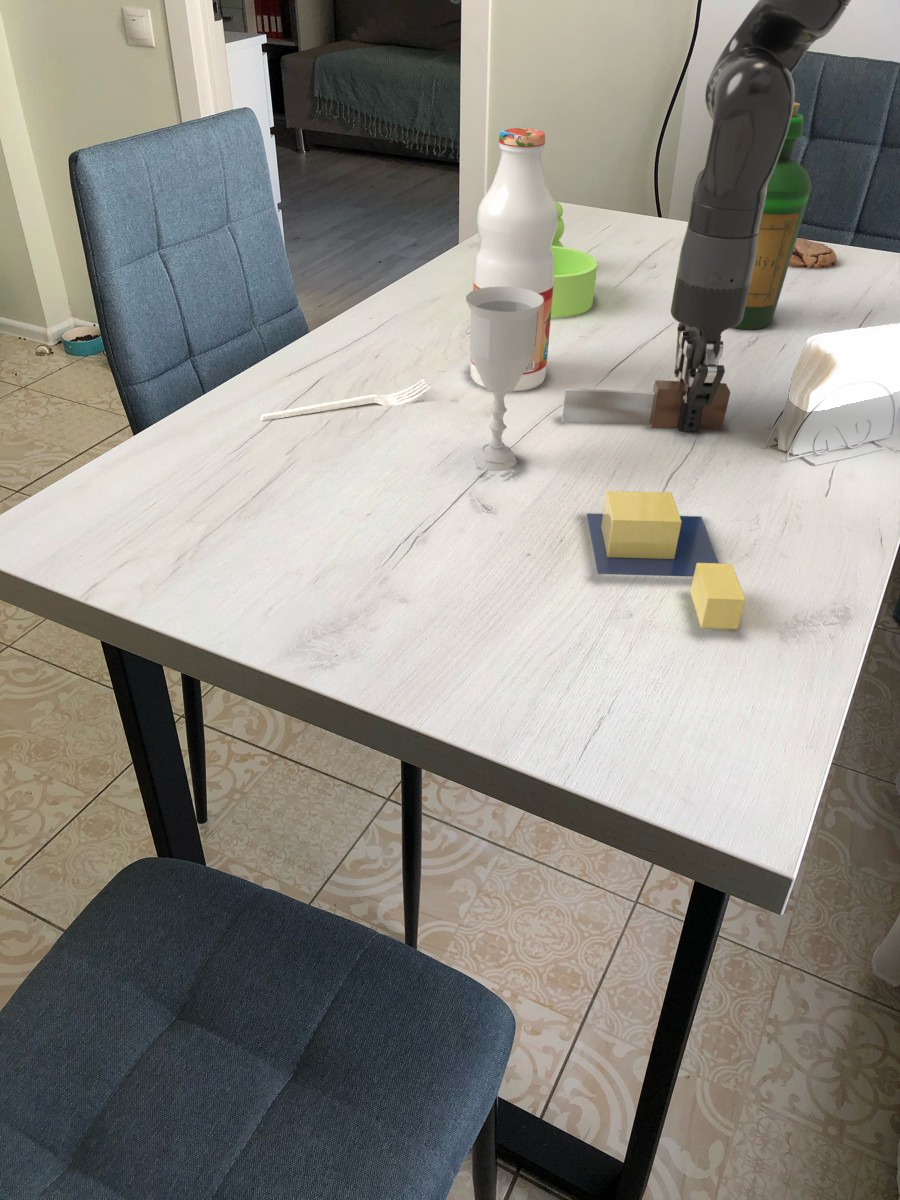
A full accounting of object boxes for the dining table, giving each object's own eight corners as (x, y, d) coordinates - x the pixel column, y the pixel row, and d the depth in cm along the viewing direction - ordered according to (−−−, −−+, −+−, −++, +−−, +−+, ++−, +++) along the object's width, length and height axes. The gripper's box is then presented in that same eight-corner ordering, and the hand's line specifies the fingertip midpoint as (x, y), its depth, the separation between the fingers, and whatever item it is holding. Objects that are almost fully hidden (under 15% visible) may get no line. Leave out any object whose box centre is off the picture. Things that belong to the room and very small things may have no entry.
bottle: (687, 319, 134) (726, 101, 118) (729, 303, 140) (772, 93, 123) (751, 341, 128) (802, 114, 111) (793, 323, 134) (847, 105, 117)
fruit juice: (455, 373, 118) (460, 128, 101) (514, 358, 122) (529, 120, 105) (500, 401, 112) (514, 144, 95) (560, 383, 116) (585, 135, 99)
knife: (716, 423, 108) (725, 383, 105) (721, 433, 106) (730, 392, 103) (560, 417, 108) (565, 376, 105) (562, 426, 106) (567, 385, 103)
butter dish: (699, 525, 90) (709, 479, 87) (721, 586, 82) (733, 538, 79) (585, 521, 90) (591, 476, 87) (596, 582, 82) (603, 535, 79)
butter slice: (722, 601, 81) (732, 563, 78) (735, 638, 77) (745, 599, 74) (688, 600, 81) (696, 562, 78) (698, 637, 77) (708, 598, 74)
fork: (258, 416, 107) (256, 401, 106) (422, 392, 113) (422, 377, 112) (264, 429, 104) (262, 413, 103) (432, 403, 111) (432, 388, 110)
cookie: (835, 274, 152) (840, 255, 151) (768, 266, 155) (772, 248, 153) (833, 256, 160) (838, 238, 158) (769, 249, 162) (773, 231, 161)
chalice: (521, 451, 102) (534, 285, 91) (537, 482, 96) (552, 309, 85) (455, 455, 101) (459, 287, 90) (467, 487, 95) (473, 313, 84)
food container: (598, 320, 133) (609, 229, 126) (496, 319, 133) (501, 227, 125) (578, 265, 153) (586, 183, 146) (489, 263, 153) (492, 181, 145)
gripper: (767, 298, 91) (731, 456, 102) (735, 254, 102) (705, 401, 113) (690, 296, 91) (662, 454, 102) (666, 252, 102) (643, 399, 113)
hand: (685, 426), depth 107 cm, fingers closed on knife, 2 cm apart
